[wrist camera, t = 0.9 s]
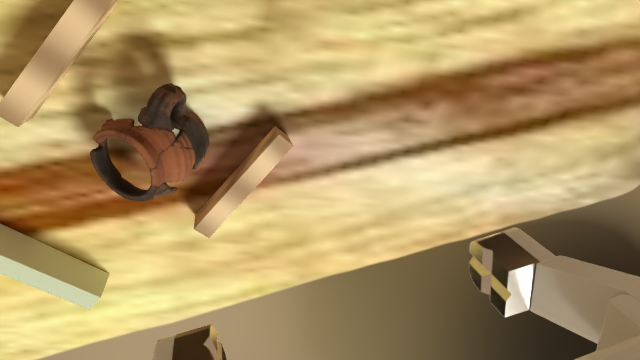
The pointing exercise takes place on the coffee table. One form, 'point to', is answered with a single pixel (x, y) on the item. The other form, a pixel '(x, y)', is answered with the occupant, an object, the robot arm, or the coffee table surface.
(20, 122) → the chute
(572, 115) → the coffee table surface
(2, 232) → the block
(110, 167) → the broken brown clay pot
